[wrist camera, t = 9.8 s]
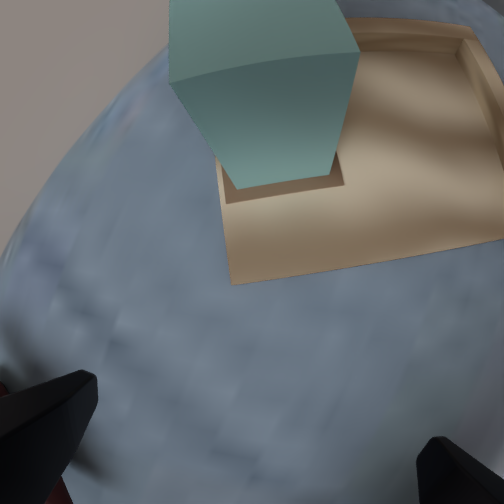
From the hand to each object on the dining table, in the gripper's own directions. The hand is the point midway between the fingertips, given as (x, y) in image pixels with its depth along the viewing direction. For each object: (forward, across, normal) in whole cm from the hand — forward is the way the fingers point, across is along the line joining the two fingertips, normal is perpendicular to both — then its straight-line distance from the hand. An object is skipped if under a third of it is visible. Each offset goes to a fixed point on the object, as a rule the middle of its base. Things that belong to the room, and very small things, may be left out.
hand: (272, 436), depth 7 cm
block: (+13, +2, -8) cm, 15 cm away
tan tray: (+13, -4, -10) cm, 17 cm away
